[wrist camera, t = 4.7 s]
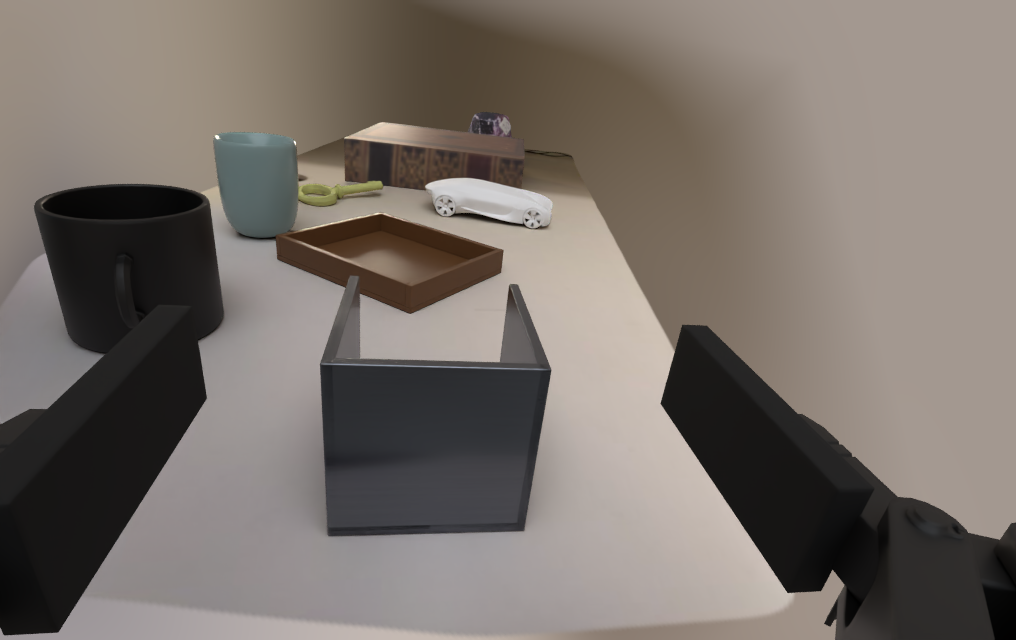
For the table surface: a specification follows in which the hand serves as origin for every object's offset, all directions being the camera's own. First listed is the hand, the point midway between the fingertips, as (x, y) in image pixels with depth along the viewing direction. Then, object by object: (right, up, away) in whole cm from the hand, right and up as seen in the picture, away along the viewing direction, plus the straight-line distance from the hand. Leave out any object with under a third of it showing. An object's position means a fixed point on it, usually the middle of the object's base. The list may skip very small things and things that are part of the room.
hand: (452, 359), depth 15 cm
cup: (-25, +11, +45) cm, 52 cm away
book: (-10, +27, +82) cm, 87 cm away
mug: (-24, 0, +23) cm, 33 cm away
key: (-22, +18, +61) cm, 67 cm away
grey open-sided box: (-3, -7, +14) cm, 16 cm away
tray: (-10, +7, +40) cm, 42 cm away
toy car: (-1, +16, +62) cm, 64 cm away
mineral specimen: (-3, +39, +108) cm, 115 cm away
